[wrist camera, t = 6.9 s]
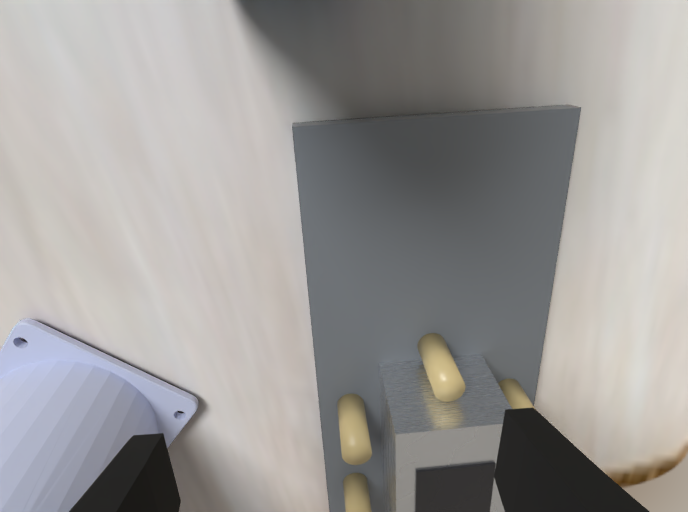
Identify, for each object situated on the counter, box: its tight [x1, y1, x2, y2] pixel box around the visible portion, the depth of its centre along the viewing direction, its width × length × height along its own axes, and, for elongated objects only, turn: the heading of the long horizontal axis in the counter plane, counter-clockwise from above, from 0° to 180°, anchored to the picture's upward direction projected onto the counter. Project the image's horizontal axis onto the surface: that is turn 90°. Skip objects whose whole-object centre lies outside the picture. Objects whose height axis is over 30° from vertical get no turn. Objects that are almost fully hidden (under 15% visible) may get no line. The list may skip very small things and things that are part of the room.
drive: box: [379, 354, 512, 512], centre depth 20 cm, size 8×4×4 cm, turn 3°
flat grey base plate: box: [292, 105, 581, 512], centre depth 19 cm, size 21×10×4 cm, turn 3°
